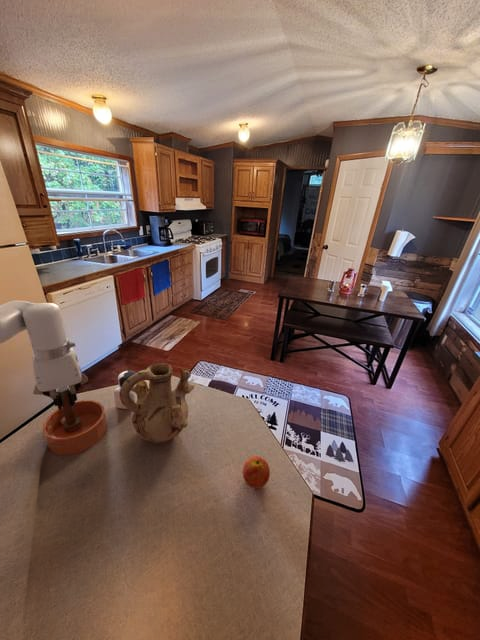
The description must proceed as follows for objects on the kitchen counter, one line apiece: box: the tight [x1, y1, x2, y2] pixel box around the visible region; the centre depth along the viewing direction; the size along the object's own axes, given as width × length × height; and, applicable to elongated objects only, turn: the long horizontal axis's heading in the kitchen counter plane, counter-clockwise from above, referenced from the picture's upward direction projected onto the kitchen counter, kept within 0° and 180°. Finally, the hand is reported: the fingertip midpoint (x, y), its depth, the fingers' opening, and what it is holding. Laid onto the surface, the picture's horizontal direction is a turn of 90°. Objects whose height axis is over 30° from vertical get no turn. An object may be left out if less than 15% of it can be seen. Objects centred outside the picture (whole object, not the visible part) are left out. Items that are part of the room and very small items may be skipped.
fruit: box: [242, 455, 271, 489], centre depth 65 cm, size 7×7×8 cm
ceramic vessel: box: [119, 362, 195, 444], centre depth 74 cm, size 18×19×25 cm
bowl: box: [42, 399, 108, 456], centre depth 75 cm, size 15×15×6 cm
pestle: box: [57, 386, 81, 432], centre depth 74 cm, size 4×4×14 cm
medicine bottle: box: [113, 370, 137, 410], centre depth 88 cm, size 7×7×12 cm
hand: (67, 404), depth 74 cm, fingers closed on pestle, 2 cm apart
